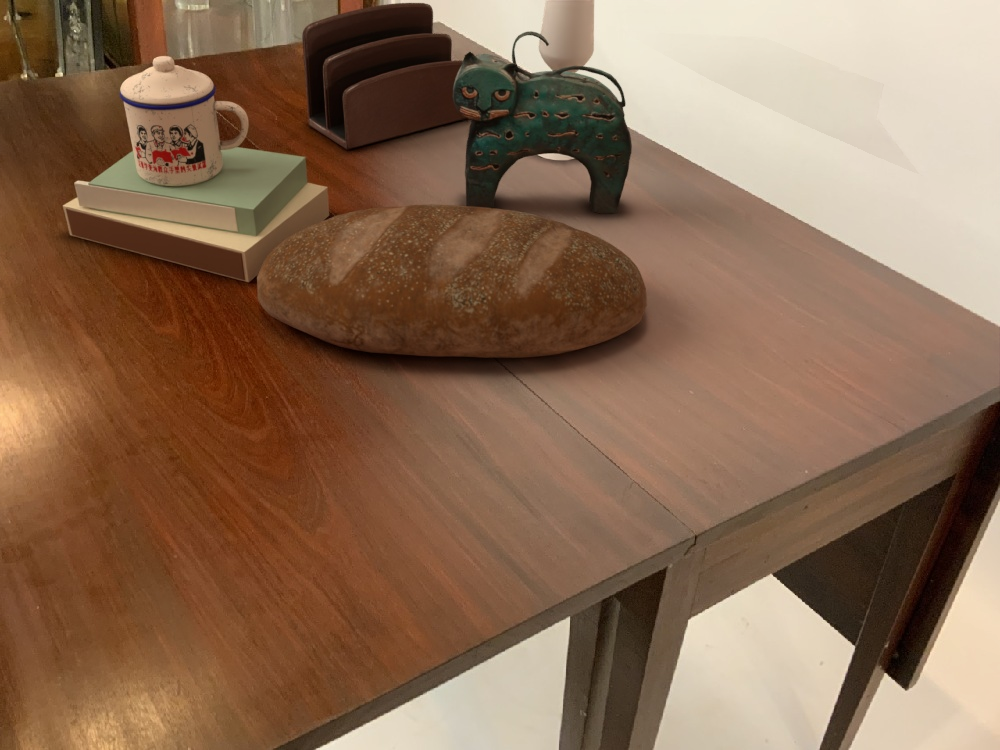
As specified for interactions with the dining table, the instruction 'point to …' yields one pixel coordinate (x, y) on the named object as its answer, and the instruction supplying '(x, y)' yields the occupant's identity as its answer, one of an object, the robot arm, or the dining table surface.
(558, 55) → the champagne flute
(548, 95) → the ceramic cat
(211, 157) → the teacup with lid
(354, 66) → the letter holder
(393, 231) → the bread
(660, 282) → the dining table surface
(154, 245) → the book stack
